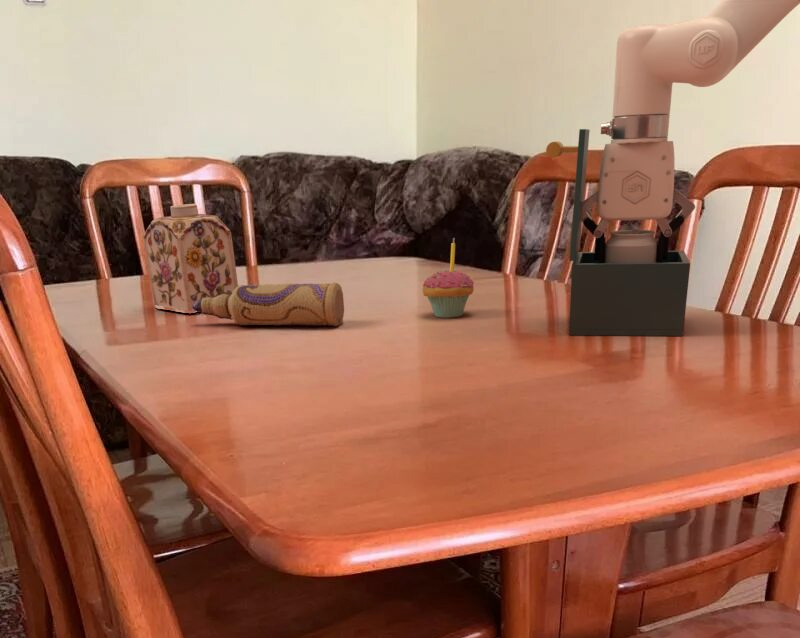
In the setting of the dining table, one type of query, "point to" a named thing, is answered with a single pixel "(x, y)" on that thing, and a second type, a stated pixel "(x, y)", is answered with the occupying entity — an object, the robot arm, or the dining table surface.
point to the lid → (556, 150)
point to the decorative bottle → (278, 304)
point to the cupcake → (448, 290)
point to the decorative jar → (189, 258)
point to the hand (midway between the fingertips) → (629, 264)
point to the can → (631, 247)
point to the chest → (629, 296)
